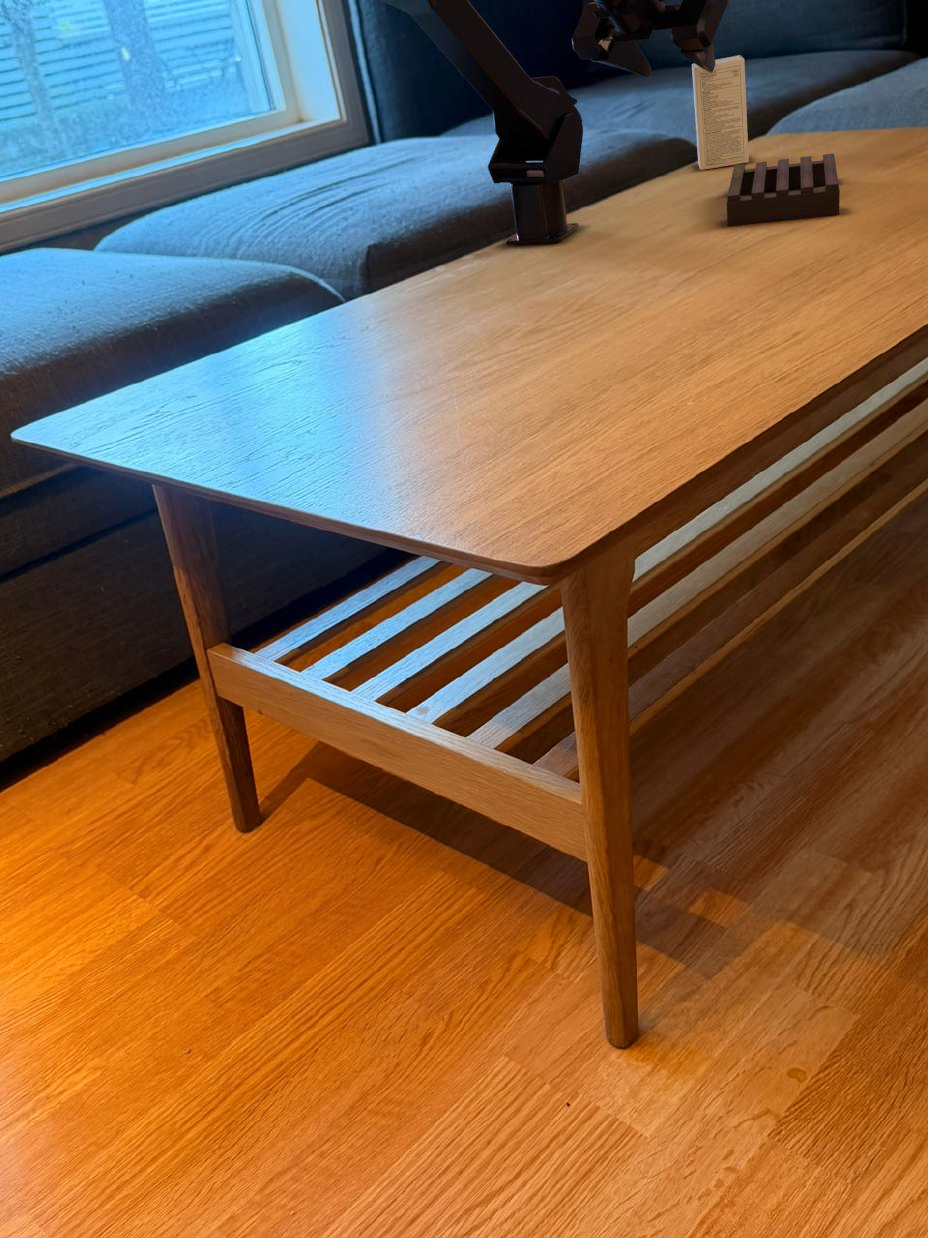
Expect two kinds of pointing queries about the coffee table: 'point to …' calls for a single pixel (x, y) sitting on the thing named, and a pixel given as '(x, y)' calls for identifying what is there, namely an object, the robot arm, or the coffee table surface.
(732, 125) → the cosmetic box
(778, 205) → the rack
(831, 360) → the coffee table surface
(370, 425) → the coffee table surface
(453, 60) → the robot arm
